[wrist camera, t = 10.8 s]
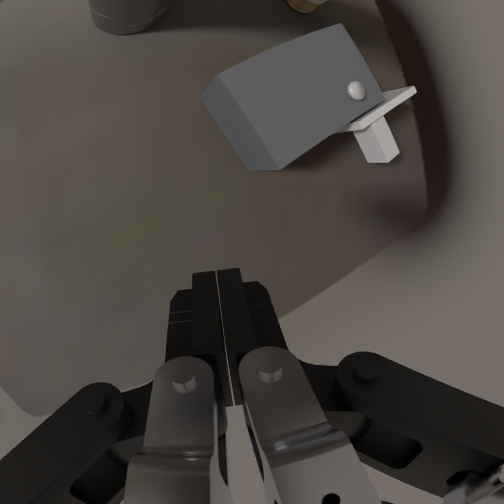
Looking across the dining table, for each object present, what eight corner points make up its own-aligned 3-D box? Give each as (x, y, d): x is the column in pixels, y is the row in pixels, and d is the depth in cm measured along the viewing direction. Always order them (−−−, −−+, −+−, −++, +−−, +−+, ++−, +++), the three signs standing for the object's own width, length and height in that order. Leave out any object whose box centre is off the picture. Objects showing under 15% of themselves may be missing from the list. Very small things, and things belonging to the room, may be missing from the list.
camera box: (199, 97, 28) (219, 71, 20) (310, 43, 31) (350, 19, 23) (249, 171, 32) (284, 170, 24) (348, 106, 35) (394, 96, 27)
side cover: (317, 129, 34) (358, 121, 26) (372, 94, 35) (413, 85, 28) (338, 169, 36) (381, 170, 29) (389, 129, 38) (431, 126, 30)
